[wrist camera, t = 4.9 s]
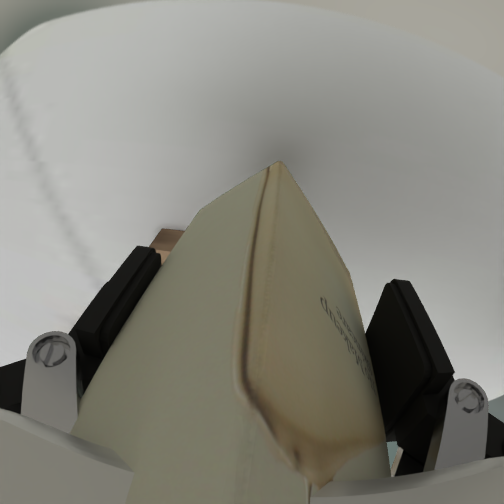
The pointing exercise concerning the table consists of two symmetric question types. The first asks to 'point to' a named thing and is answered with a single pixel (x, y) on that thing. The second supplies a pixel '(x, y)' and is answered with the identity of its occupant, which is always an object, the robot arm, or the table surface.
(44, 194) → the table surface
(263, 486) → the skincare box
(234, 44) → the table surface
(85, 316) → the robot arm
